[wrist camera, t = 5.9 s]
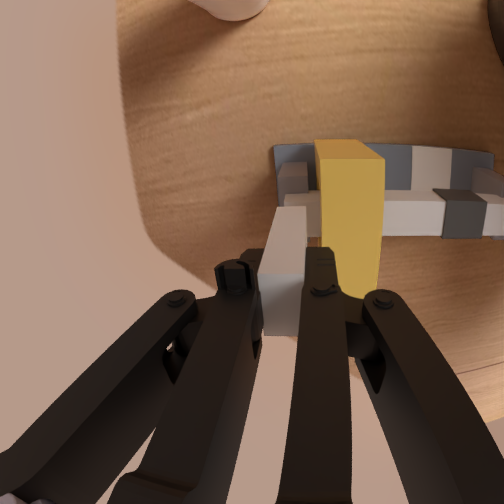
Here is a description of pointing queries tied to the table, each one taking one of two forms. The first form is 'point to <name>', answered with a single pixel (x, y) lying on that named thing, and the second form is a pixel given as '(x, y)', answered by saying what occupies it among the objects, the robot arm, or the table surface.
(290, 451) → the robot arm
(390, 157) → the rail
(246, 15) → the white cup
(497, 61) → the table surface
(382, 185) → the collar
